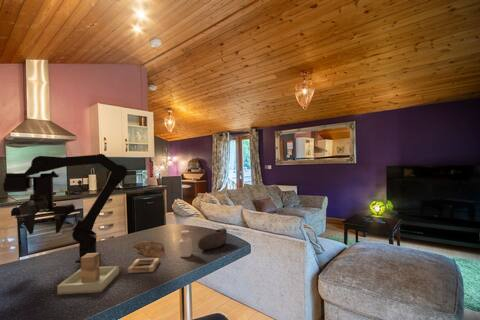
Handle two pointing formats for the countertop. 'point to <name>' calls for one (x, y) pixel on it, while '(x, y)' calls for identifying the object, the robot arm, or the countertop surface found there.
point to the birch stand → (135, 268)
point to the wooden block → (90, 268)
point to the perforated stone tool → (213, 239)
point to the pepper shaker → (185, 244)
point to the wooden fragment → (150, 249)
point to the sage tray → (75, 285)
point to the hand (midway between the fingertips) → (44, 233)
